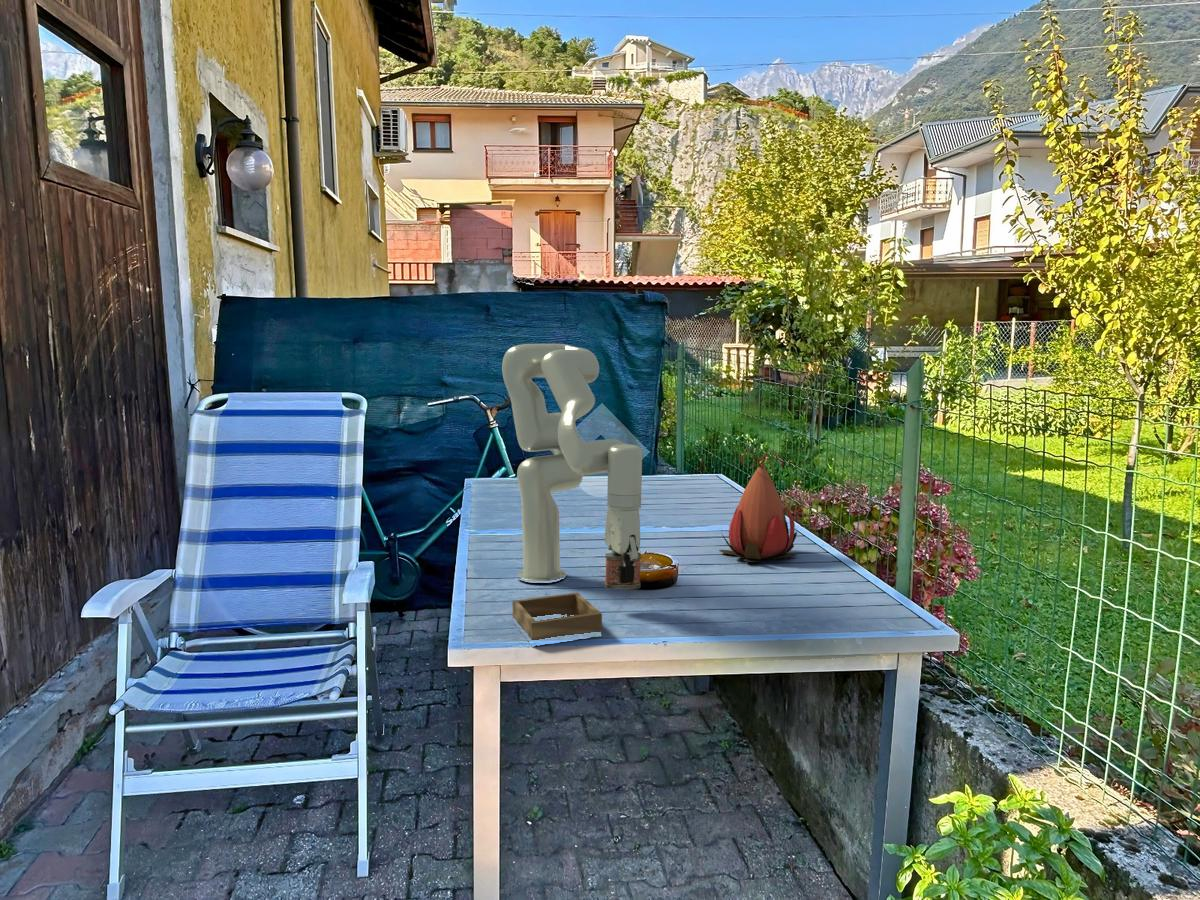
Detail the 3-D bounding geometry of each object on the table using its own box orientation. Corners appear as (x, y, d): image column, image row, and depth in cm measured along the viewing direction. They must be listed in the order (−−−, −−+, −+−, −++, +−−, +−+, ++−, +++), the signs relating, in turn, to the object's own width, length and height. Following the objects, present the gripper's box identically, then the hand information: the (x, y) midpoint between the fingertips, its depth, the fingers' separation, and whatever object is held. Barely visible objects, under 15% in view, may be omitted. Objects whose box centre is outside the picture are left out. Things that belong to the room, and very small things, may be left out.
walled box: (512, 622, 174) (512, 600, 173) (577, 614, 179) (577, 592, 178) (532, 647, 160) (531, 623, 159) (602, 636, 165) (601, 613, 164)
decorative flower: (798, 549, 233) (801, 447, 229) (795, 571, 211) (798, 458, 207) (723, 544, 239) (724, 445, 234) (712, 565, 217) (713, 456, 212)
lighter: (639, 583, 182) (640, 541, 181) (641, 588, 179) (641, 545, 177) (604, 584, 182) (605, 541, 180) (605, 588, 178) (605, 545, 177)
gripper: (595, 493, 183) (594, 570, 186) (623, 510, 168) (621, 593, 171) (625, 491, 186) (623, 566, 189) (655, 507, 171) (653, 589, 174)
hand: (622, 578), depth 180 cm, fingers closed on lighter, 4 cm apart
